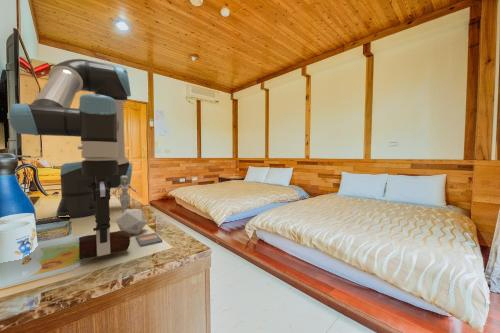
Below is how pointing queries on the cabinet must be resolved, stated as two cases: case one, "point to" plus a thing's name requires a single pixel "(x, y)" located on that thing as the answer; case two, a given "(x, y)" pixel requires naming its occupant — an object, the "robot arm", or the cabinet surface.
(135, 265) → the cabinet surface
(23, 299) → the cabinet surface
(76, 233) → the cabinet surface
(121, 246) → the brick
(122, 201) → the human figurine
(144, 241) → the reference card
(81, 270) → the cabinet surface
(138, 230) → the die
